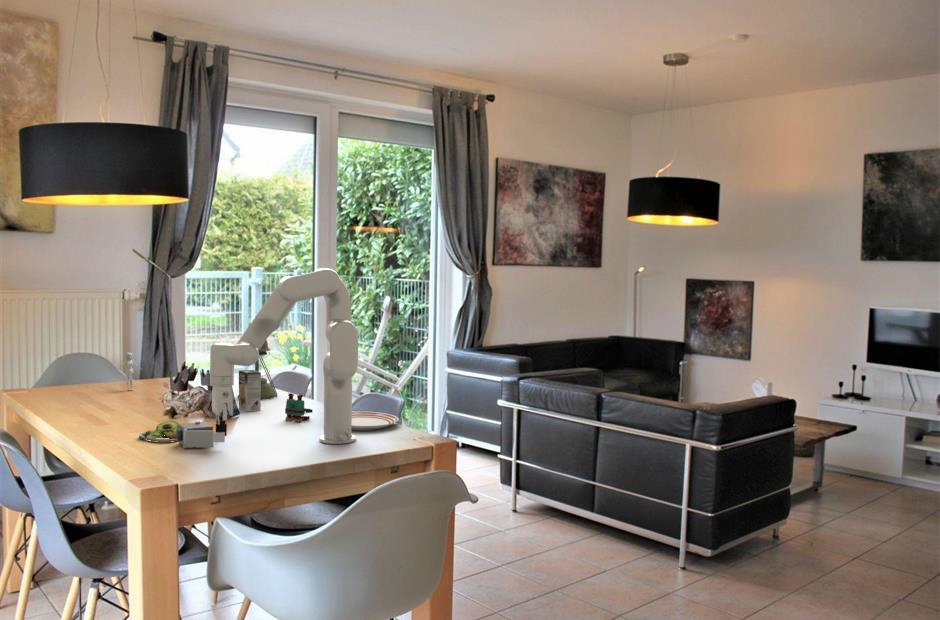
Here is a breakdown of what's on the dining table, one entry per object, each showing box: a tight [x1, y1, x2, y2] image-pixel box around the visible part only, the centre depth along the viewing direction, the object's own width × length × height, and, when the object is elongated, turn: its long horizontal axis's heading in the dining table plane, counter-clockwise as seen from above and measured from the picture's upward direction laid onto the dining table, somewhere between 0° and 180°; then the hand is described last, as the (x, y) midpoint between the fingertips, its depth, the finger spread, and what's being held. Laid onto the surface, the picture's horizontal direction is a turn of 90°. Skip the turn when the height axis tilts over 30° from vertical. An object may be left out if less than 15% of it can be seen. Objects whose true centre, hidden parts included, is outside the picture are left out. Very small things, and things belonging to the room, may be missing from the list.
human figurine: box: [115, 352, 143, 389], centre depth 362 cm, size 12×4×18 cm, turn 134°
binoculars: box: [284, 392, 314, 423], centre depth 301 cm, size 9×11×10 cm
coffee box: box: [238, 369, 262, 412], centre depth 320 cm, size 9×6×16 cm
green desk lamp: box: [237, 339, 278, 401], centre depth 351 cm, size 21×18×30 cm
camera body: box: [176, 421, 214, 449], centre depth 256 cm, size 9×10×7 cm
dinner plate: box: [352, 411, 400, 431], centre depth 292 cm, size 28×27×3 cm
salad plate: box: [138, 420, 180, 443], centre depth 266 cm, size 19×18×5 cm
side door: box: [183, 429, 226, 449], centre depth 250 cm, size 1×13×6 cm, turn 93°
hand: (221, 435), depth 252 cm, fingers closed
